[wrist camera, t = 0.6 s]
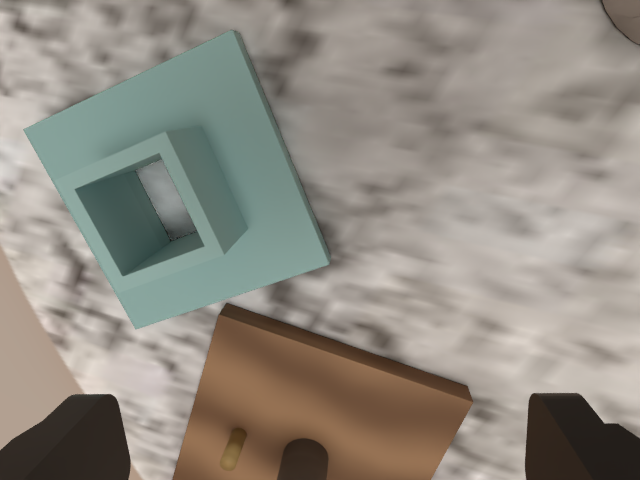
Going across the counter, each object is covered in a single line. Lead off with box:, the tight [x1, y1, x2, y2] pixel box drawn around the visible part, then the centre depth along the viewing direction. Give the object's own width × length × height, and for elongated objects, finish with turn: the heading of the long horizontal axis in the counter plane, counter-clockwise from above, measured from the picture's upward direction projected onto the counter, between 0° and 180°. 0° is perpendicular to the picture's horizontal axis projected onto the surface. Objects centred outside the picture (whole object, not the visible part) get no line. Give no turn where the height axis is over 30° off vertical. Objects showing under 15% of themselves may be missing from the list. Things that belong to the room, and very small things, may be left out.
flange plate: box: [23, 30, 331, 329], centre depth 23 cm, size 13×13×6 cm
